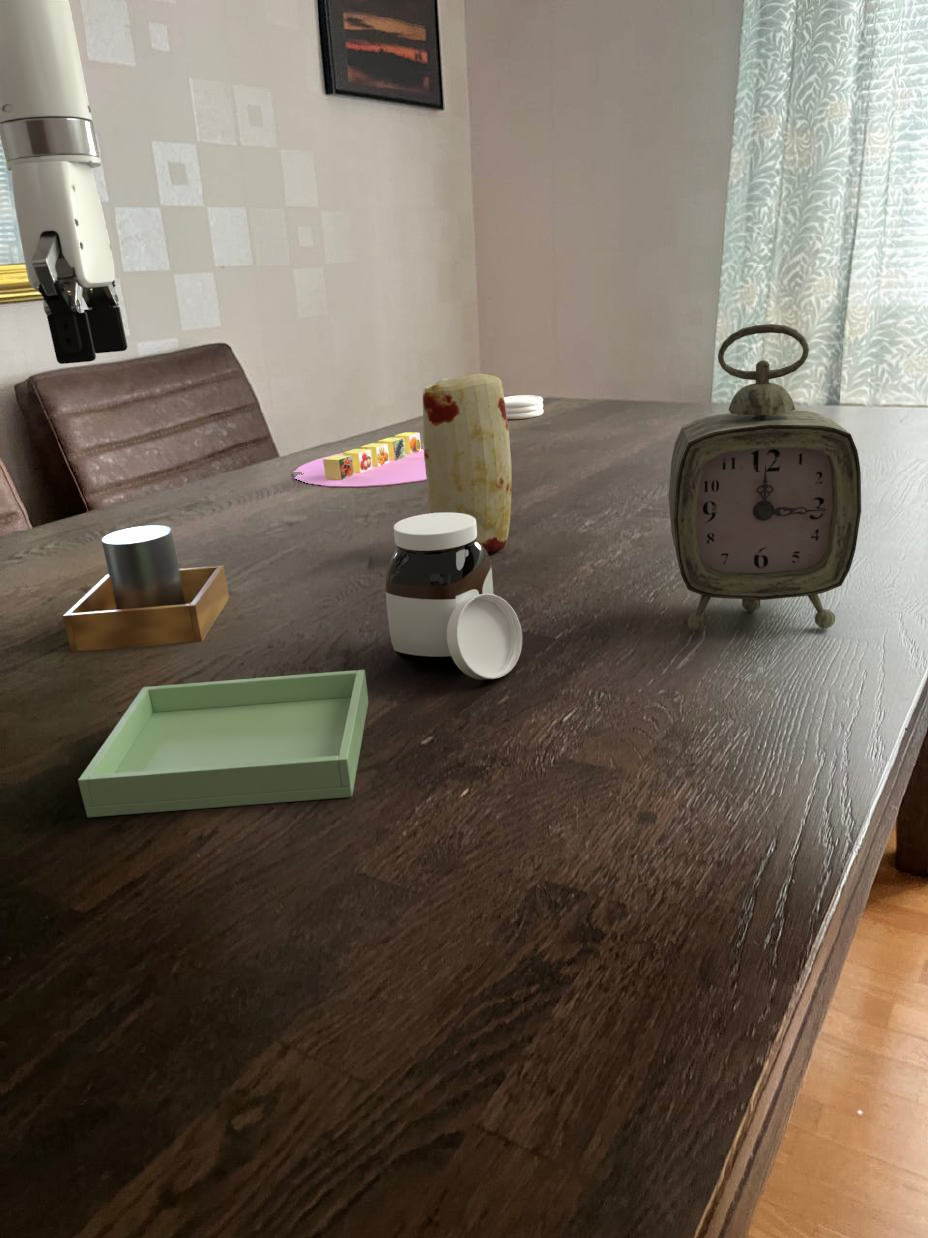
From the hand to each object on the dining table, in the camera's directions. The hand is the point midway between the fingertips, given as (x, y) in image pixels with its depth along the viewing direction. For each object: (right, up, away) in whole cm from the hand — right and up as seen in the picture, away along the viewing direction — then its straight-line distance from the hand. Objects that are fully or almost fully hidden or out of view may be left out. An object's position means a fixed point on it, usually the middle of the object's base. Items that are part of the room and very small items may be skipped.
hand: (94, 356), depth 88 cm
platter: (+21, +2, +75) cm, 78 cm away
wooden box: (+3, -25, +7) cm, 26 cm away
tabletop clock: (+59, -24, -2) cm, 64 cm away
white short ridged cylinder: (+45, +18, +112) cm, 122 cm away
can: (+3, -24, +7) cm, 25 cm away
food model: (+35, -16, +23) cm, 45 cm away
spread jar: (+33, -28, -6) cm, 44 cm away
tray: (+18, -34, -19) cm, 42 cm away
